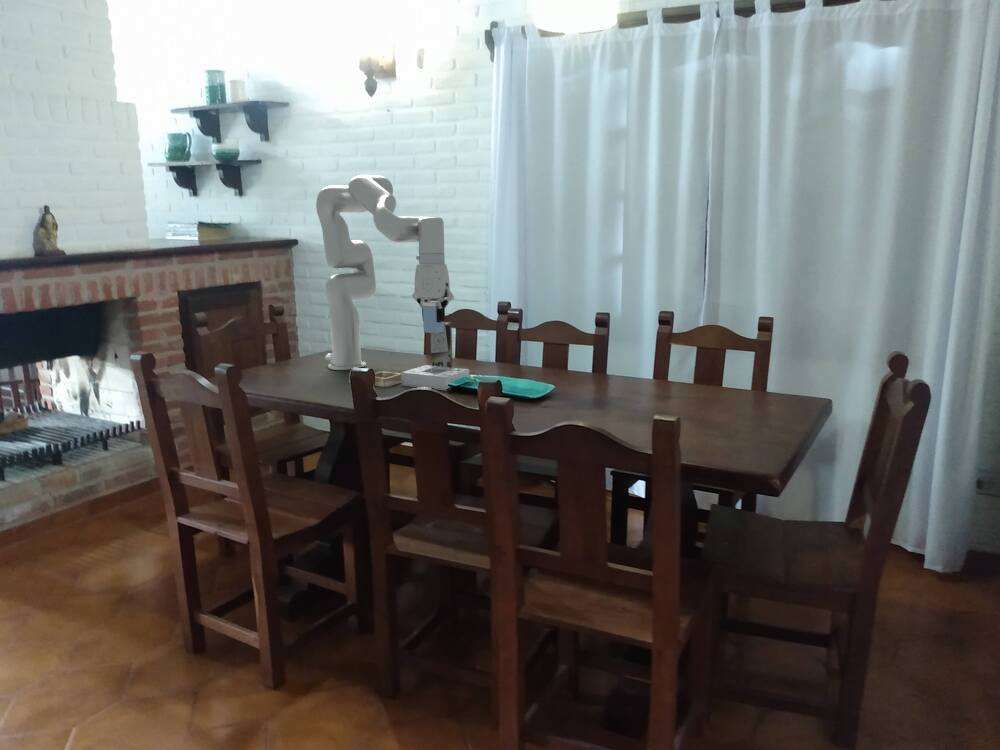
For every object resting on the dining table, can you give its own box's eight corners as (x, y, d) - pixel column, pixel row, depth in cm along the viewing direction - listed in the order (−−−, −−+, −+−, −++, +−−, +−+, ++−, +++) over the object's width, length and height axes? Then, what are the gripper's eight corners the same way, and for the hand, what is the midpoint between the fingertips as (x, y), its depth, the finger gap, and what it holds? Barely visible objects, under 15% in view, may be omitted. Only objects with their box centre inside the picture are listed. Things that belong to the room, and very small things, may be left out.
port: (401, 385, 230) (401, 371, 229) (426, 377, 241) (425, 363, 240) (446, 390, 223) (445, 375, 222) (469, 382, 234) (469, 368, 233)
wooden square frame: (363, 384, 232) (363, 376, 232) (381, 378, 240) (381, 371, 239) (386, 387, 228) (386, 378, 228) (404, 381, 236) (403, 373, 235)
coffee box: (451, 374, 245) (449, 325, 242) (431, 375, 245) (429, 325, 242) (453, 369, 254) (452, 321, 251) (434, 369, 254) (432, 321, 251)
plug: (423, 332, 228) (422, 302, 226) (431, 330, 232) (431, 300, 230) (435, 333, 226) (435, 302, 224) (444, 331, 230) (443, 301, 228)
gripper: (401, 259, 225) (403, 321, 229) (449, 260, 217) (450, 324, 221) (415, 258, 232) (417, 318, 235) (462, 259, 224) (464, 321, 227)
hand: (433, 320), depth 228 cm, fingers closed on plug, 4 cm apart
